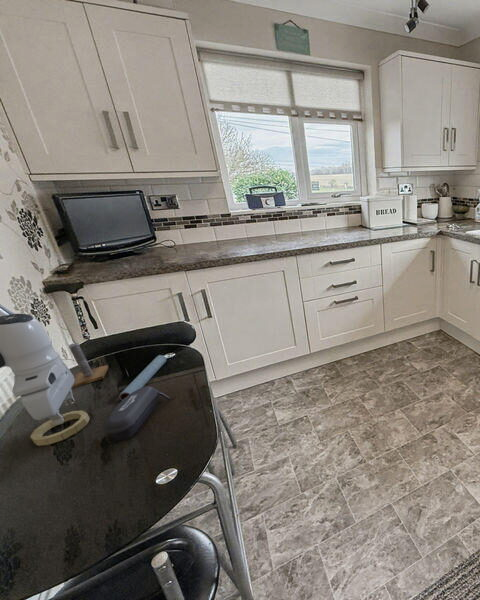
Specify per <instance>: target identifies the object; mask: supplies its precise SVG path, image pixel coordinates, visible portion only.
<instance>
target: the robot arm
mask: <svg viewBox="0 0 480 600" xmlns="http://www.w3.org/2000/svg"><path fill="white" fill-rule="evenodd" d="M6 367H7V368H10V370H11V372H12V374H13V375H14V376H13V377H14V378H13V379H14V383H13V387H12V393H13V395H14V397H16V398H17V397H20V401H21V403H22V406H23V407H24V408H25V410H26V411H27V413H28V414H29V415H30V417H31V418H32V419H34V420H35V421H38V422H40V421H43V420H46V419H49V420H52V421H53V422H54V424H55V425H57V426H59V425H62V424H64V423H65V422H64V421H65V418H64V415H62V414H61V413H60V408H61V406H62V405H63V404H64V405H65V407H70V406H73V405H74V404H75V402H76V400H75V398H74V397H73V396H74V395H73V390H72V388H71V387H72V386H73V384H74V382H75V379H74V374H73V373H72V371H71V370H70V368H69V367H68V365H67V364H66V363H65V362H64V361H63V359H62V357H61V355H60V353H59V352H58V351H57V350H56V349H55V348H54V347H53V342H52V339H51V337H50V335H49V334H48V332H47V330H46V329H45V327H44V326H43V324H42V323H41V321H39V320H38V319H37V318H36V317H35V316H34V315H32V314H28V313H14V312H13V311H11V310H9V309H8V308H6V307H5V306H3V305H2V304H0V369H2V368H6Z"/></svg>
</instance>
